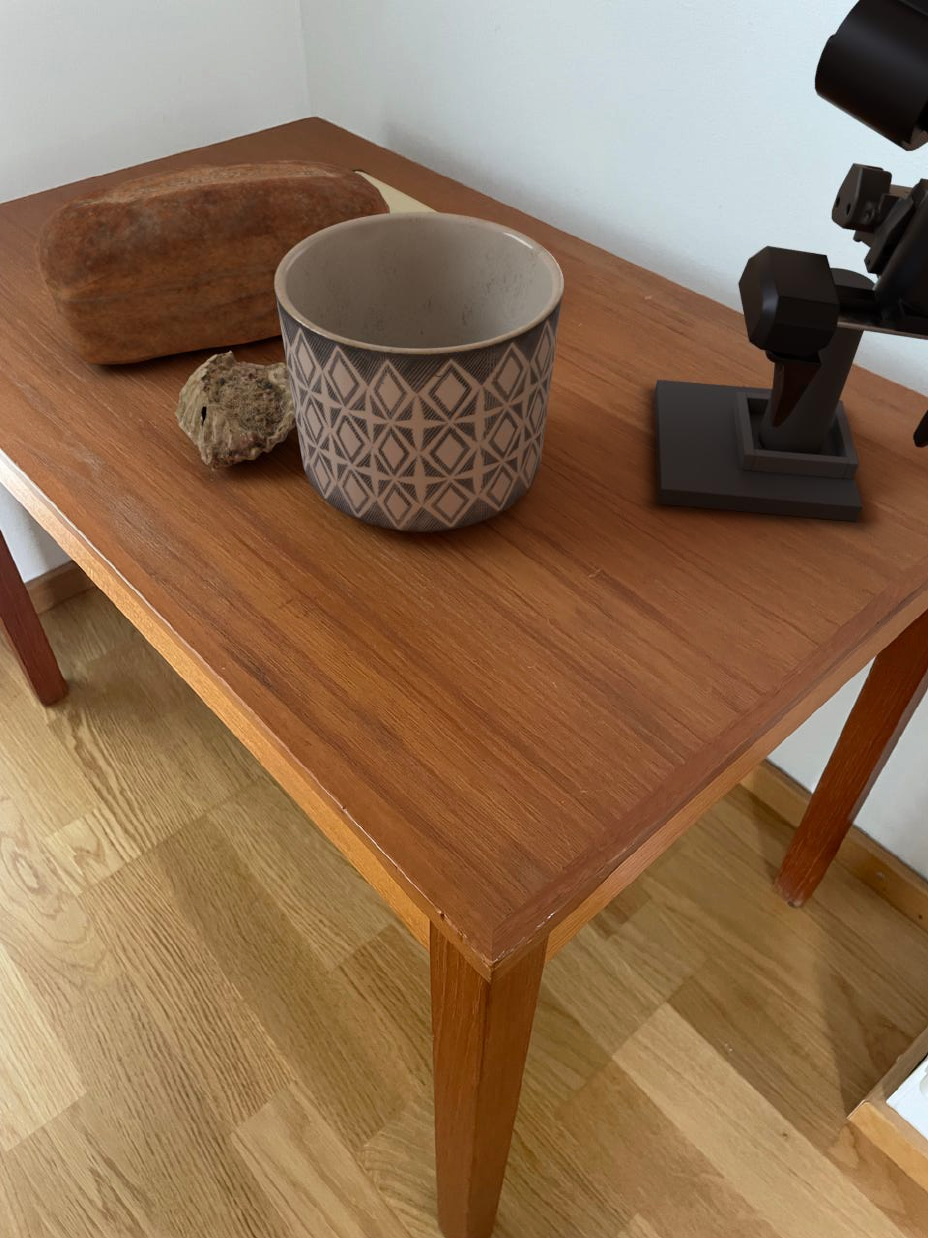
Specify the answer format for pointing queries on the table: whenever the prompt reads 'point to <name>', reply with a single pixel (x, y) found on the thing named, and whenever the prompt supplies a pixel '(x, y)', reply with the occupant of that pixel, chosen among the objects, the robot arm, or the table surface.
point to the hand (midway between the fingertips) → (845, 432)
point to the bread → (187, 253)
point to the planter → (420, 365)
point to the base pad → (746, 456)
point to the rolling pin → (394, 196)
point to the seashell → (236, 409)
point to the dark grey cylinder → (818, 388)
